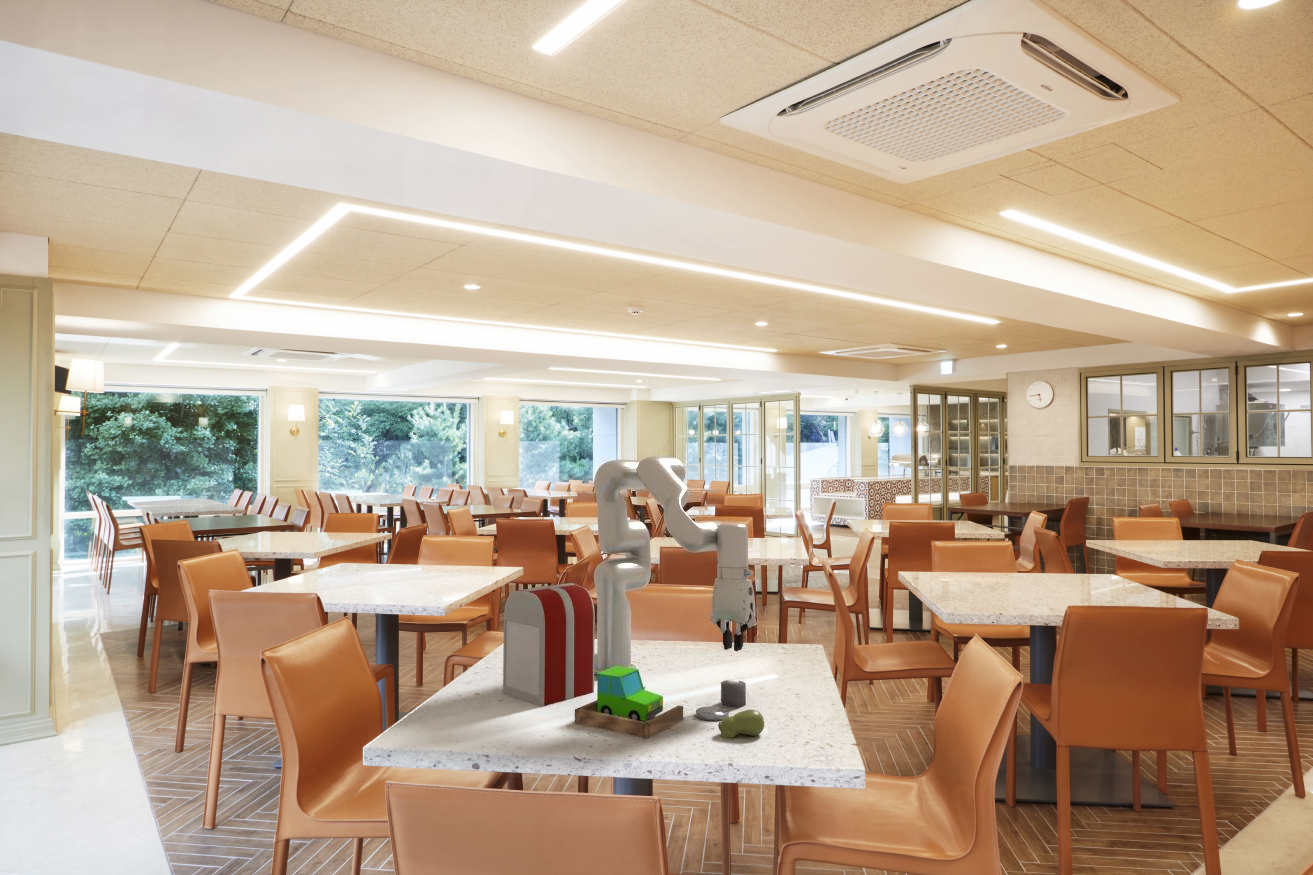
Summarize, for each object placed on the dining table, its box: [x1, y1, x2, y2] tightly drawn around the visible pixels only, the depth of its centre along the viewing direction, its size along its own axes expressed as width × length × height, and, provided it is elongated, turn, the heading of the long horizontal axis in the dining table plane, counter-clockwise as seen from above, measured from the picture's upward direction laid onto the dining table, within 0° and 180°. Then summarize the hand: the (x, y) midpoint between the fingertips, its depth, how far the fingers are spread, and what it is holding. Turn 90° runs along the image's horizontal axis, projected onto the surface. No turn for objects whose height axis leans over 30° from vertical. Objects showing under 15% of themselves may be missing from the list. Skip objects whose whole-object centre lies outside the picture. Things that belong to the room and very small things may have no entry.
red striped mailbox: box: [502, 582, 596, 708], centre depth 197 cm, size 16×18×27 cm
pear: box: [718, 709, 765, 739], centre depth 165 cm, size 6×5×10 cm
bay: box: [574, 699, 684, 740], centre depth 174 cm, size 19×15×3 cm
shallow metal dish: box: [695, 705, 730, 722], centre depth 178 cm, size 8×8×1 cm
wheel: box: [720, 678, 747, 709], centre depth 188 cm, size 6×6×6 cm
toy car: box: [596, 666, 664, 722], centre depth 178 cm, size 10×13×10 cm
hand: (733, 648), depth 188 cm, fingers closed
